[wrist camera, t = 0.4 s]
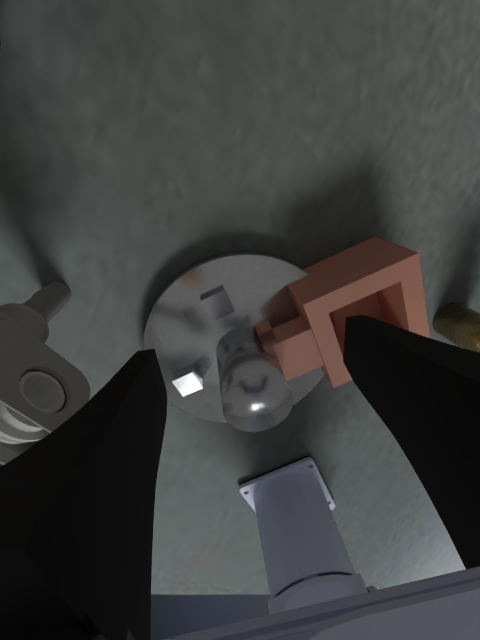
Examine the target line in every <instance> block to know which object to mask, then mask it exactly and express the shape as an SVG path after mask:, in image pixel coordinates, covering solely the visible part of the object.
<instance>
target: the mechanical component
mask: <svg viewBox="0 0 480 640" xmlns="http://www.w3.org/2000/svg"><path fill="white" fill-rule="evenodd" d="M70 296H71V292H70V289H69V288H68V287H67V286H66V285H65V284H63V283H61V282H57V281H56V282H52V283H50V284H48V285H47V286H45V287H43V288H42V289H40V290H39V291H38V292H36V293H35V294H34V295H33V296H32V298H30V299H29V300H28V301H26V302H25V303H23V304H15V303H11V304H5V305H2V306H0V441H1V442H0V463H1V464H3V465H5V464H6V463H8V462H9V461H11V460H12V459H14V458H16V457H17V456H19V455H20V454H22V453H23V452H24V451H26V450H27V449H29V448H30V447H31V446H33V445H34V444H36V443H37V442H38V441H40V440H41V439H43V438H44V437H46V436H47V435H48V434H50V433H51V432H52V431H54V430H55V429H56V428H58V427H59V426H60V425H61V424H63V423H64V422H65V421H66V420H68V419H69V418H70V417H71V416H73V415H74V414H75V413H76V412H77V411H78V410H80V409H81V408H82V407H83V406H84V405H85V404H86V403H87V402H88V400H89V398H90V386H89V383H88V381H87V379H86V378H85V376H84V375H83V374H82V373H81V371H79V370H78V369H77V368H76V367H74V366H73V365H72V364H71V363H69V362H68V361H67V360H65V359H64V358H63V357H61V356H60V355H59V354H57V353H56V352H55V351H53V350H52V349H51V348H50V347H48V346H47V345H46V344H44V343H45V342H46V340H47V338H48V335H49V328H48V324H47V323H48V322H49V321H50V320H51V318H52V317H53V316H54V315H56V314H57V313H58V312H59V311H60V310H61V309H62V308H63V307H64V305H65V304H66V303H67V302H68V301H69V299H70Z"/></svg>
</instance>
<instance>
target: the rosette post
mask: <svg viewBox="0 0 480 640" xmlns="http://www.w3.org/2000/svg"><path fill="white" fill-rule="evenodd" d="M307 275H308V274H307V273H306V272H305V271H304V270H303V269H301V268H300V267H298V266H297V265H295V264H294V263H292V262H290V261H288V260H286V259H284V258H282V257H279V256H276V255H272V254H269V253H264V252H258V251H233V252H225V253H221V254H217V255H213V256H210V257H208V258H205V259H203V260H200V261H198V262H196V263H194V264H193V265H191V266H189V267H187V268H186V269H185V270H183V271H182V272H180V273H179V274H178V275H176V276H175V277H174V278H173V279H172V280H171V281H170V282H169V283H168V284H167V285H166V286H165V288H164V289H163V290H162V292H161V293H160V294H159V296H158V297H157V299H156V301H155V303H154V305H153V306H152V309H151V312H150V315H149V317H148V320H147V324H146V327H145V332H144V337H143V350H147V349H154V348H155V352H156V355H157V359H158V362H159V366H160V369H161V373H162V376H163V380H164V383H165V387H166V390H167V400H168V401H169V402H170V403H171V404H173V405H174V406H176V407H177V408H179V409H180V410H182V411H184V412H186V413H188V414H190V415H192V416H195V417H197V418H200V419H204V420H208V421H212V422H220V423H229V424H230V425H231V426H233V427H234V428H236V429H238V430H241V431H246V432H259V431H264V430H268V429H270V428H273V427H275V426H276V425H278V424H279V423H281V422H282V421H283V420H284V419H285V418H286V417H287V416H288V414H289V413H290V411H291V409H292V406H293V405H294V404H296V403H297V402H299V401H300V400H301V399H303V398H304V397H305V396H306V395H307V394H308V393H309V392H310V391H312V390H313V388H314V387H315V386H316V385H317V384H318V383H319V381H320V380H321V379H322V377H323V376H324V372H323V371H322V369H321V367H318V368H316V369H314V370H312V371H309V372H307V373H305V374H302V375H300V376H298V377H295V378H293V379H291V380H288V381H287V380H286V378H285V376H284V373H283V371H282V369H281V366H280V364H279V362H278V361H277V360H276V358H274V357H273V356H272V355H271V354H269V353H266V352H265V351H264V349H263V346H262V344H261V341H260V339H259V336H258V333H257V331H256V328H255V326H257V325H259V324H262V323H264V322H266V321H269V324H270V326H271V328H272V329H273V328H275V327H277V326H280V325H282V324H284V323H286V322H288V321H291V320H293V319H295V318H297V317H299V314H298V312H297V309H296V307H295V304H294V301H293V299H292V296H291V293H290V291H289V288H288V286H287V284H290V283H292V282H294V281H296V280H298V279H301V278H303V277H305V276H307ZM331 313H333V314H334V312H331ZM331 315H332V314H331ZM332 316H333V315H332ZM333 317H334V316H333ZM333 317H331V318H333ZM333 319H334V318H333ZM333 319H331V320H333ZM333 321H334V320H333ZM331 322H332V321H331ZM335 327H336V326H335ZM335 327H334V328H335ZM336 330H337V328H336ZM334 331H335V330H334ZM335 332H337V331H335ZM336 334H337V333H336ZM336 337H337V335H336Z"/></svg>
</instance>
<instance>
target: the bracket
mask: <svg viewBox="0 0 480 640" xmlns="http://www.w3.org/2000/svg"><path fill="white" fill-rule="evenodd" d="M303 270H304V271H305V272H306V273H307V274H308V275H307V276H305V277H303V278H301V279H298V280H296V281H294V282H292V283H290V284H287V286H288V288H289V291H290V293H291V296H292V299H293V301H294V304H295V307H296V309H297V312H298V314H299V317H297V318H295V319H293V320H291V321H288V322H286V323H284V324H282V325H280V326H277V327H275V328H273V329H272V328H271V326H270V324H269V321H266V322H264V323H262V324H259V325H257V326H255V328H256V331H257V333H258V336H259V339H260V341H261V344H262V346H263V349H264V351H265V352H266V353H269V354H271V355H272V356H273V357H274V358H276V360H277V361H278V362H279V364H280V366H281V369H282V371H283V373H284V376H285V378H286V380H287V381H288V380H291V379H293V378H295V377H298V376H300V375H302V374H305V373H307V372H309V371H312V370H314V369H316V368H318V367H321V369H322V371H323V372H324V374H325V375H326V377H327V379H328V380H329V382H330V383H331V385H332V386H333V388H335V387H338V386H340V385H342V384H345V383H347V382H349V381H352V380H353V379H352V377H351V376H350V374H349V372H348V370H347V368H346V366H345V364H344V362H343V355H344V339H345V323H346V317H350V316H356V315H365V316H369V317H372V318H375V319H378V320H381V321H383V322H386V323H389V324H391V325H394V326H397V327H400V328H402V329H405V330H408V331H410V332H413V333H416V334H419V335H422V336H425V337H428V338H430V335H429V328H428V320H427V313H426V305H425V298H424V290H423V283H422V275H421V267H420V260H419V253H417V252H415V251H412V250H409V249H407V248H404V247H401V246H399V245H396V244H393V243H391V242H388V241H386V240H383V239H380V238H378V237H375V236H374V237H372V238H370V239H368V240H366V241H363V242H361V243H359V244H357V245H355V246H352V247H350V248H348V249H346V250H344V251H342V252H339V253H337V254H335V255H333V256H331V257H329V258H326V259H324V260H322V261H320V262H318V263H315V264H313V265H311V266H309V267H307V268H305V269H303ZM331 312H334V314H333V313H331ZM331 314H332V315H333V316H334V317H333V316H332V315H331ZM331 317H333V318H334V319H333V318H331ZM331 319H333V320H334V321H333V320H331ZM331 321H332V322H331ZM335 326H336V327H335ZM334 327H335V328H334ZM336 328H337V330H336ZM334 330H335V331H337V332H335V331H334ZM336 333H337V334H336ZM336 335H337V337H336Z"/></svg>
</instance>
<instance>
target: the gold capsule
mask: <svg viewBox="0 0 480 640" xmlns="http://www.w3.org/2000/svg"><path fill="white" fill-rule="evenodd" d="M433 328H434V330H435V331H436V332H438V333H439V334H440V335H442V336H443V337H445V338H446V339H448V340H449V341H451V342H452V343H454V344H455V345H457V346H458V347H460V348H464V349H468V350H472V351H476V352H480V313H478V312H476V311H474V310H472V309H470V308H468V307H466V306H464V305H462V304H460V303H451V304H448V305H446V306H444V307H443V308H442V309H440V310H439V311H438V313H437V314H436V315H435V317H434V320H433Z"/></svg>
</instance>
